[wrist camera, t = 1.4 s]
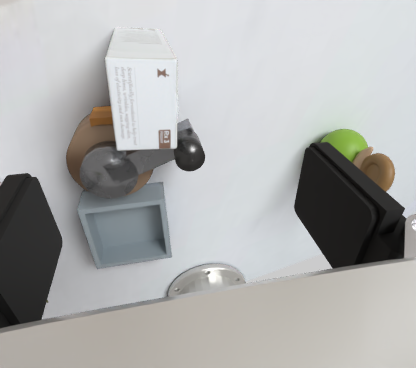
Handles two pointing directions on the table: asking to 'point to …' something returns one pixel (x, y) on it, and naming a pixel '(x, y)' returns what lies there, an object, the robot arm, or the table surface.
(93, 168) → the crank
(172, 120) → the skincare box
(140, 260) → the tray
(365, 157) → the snail figurine
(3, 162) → the table surface
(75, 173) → the crank pedestal
